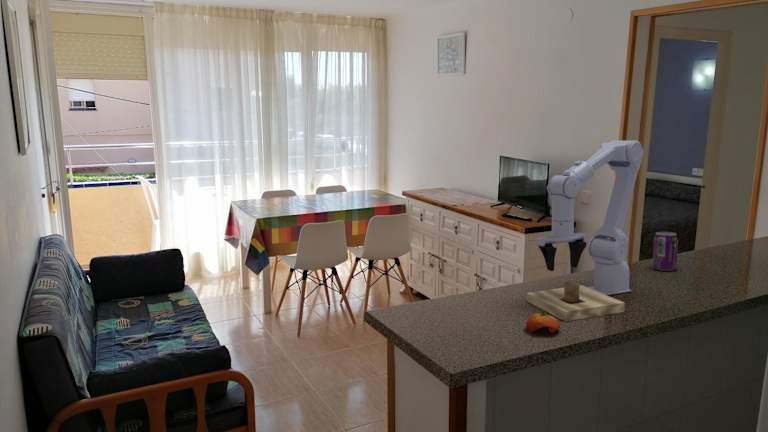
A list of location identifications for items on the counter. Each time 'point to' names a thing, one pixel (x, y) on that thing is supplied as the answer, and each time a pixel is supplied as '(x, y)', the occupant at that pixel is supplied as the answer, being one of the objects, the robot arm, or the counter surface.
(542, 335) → the counter surface
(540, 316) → the tomato
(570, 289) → the peg
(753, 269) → the counter surface
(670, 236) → the beverage can
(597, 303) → the board
